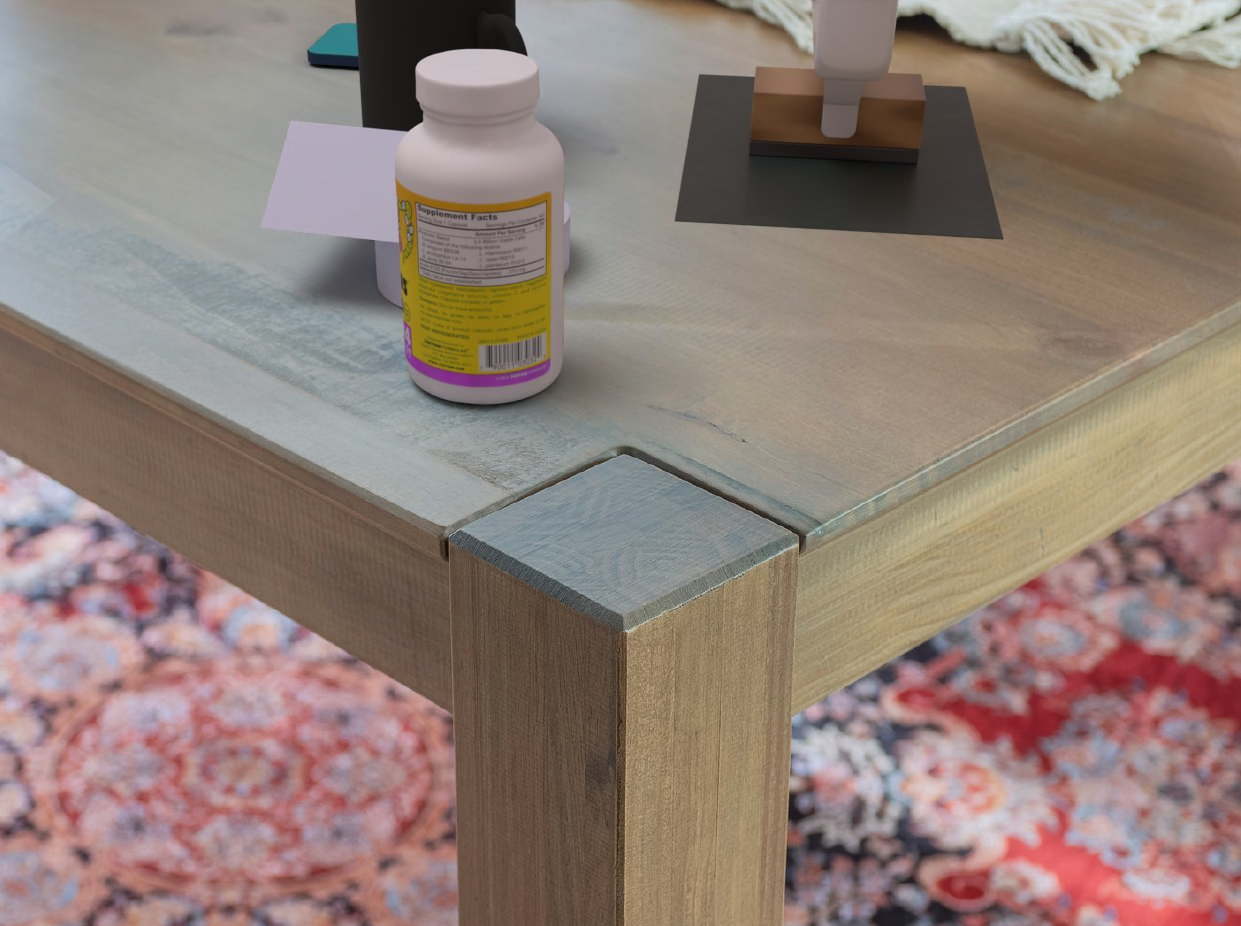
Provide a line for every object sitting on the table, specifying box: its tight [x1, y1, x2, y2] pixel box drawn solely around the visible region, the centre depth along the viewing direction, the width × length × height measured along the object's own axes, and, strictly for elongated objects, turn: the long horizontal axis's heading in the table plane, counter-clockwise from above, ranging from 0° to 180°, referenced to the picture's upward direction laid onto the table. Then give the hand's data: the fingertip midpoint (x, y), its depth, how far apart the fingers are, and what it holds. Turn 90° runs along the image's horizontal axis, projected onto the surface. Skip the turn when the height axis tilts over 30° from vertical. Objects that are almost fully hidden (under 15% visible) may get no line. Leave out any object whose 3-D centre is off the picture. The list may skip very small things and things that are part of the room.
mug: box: [354, 0, 529, 132], centre depth 88 cm, size 8×12×10 cm
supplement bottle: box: [395, 49, 565, 405], centre depth 67 cm, size 7×7×13 cm
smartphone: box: [306, 22, 359, 68], centre depth 107 cm, size 7×1×15 cm
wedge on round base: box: [259, 120, 571, 309], centre depth 77 cm, size 9×7×13 cm
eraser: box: [749, 65, 926, 164], centre depth 91 cm, size 9×5×3 cm, turn 84°
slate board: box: [674, 73, 1004, 240], centre depth 92 cm, size 16×24×1 cm, turn 174°
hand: (835, 115), depth 91 cm, fingers closed on eraser, 4 cm apart
